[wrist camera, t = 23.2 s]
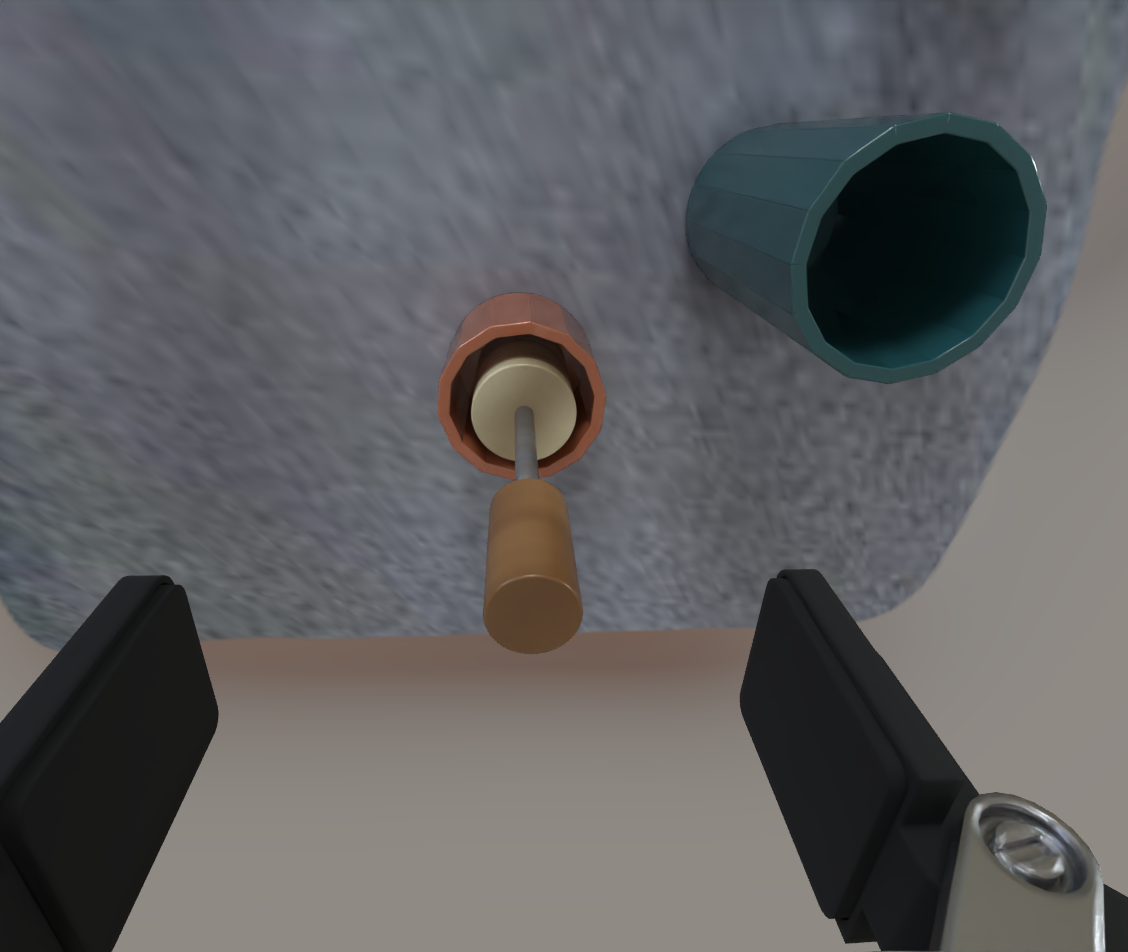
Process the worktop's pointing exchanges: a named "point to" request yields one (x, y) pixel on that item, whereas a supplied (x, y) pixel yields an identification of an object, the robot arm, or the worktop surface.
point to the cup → (873, 235)
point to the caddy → (514, 319)
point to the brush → (527, 495)
